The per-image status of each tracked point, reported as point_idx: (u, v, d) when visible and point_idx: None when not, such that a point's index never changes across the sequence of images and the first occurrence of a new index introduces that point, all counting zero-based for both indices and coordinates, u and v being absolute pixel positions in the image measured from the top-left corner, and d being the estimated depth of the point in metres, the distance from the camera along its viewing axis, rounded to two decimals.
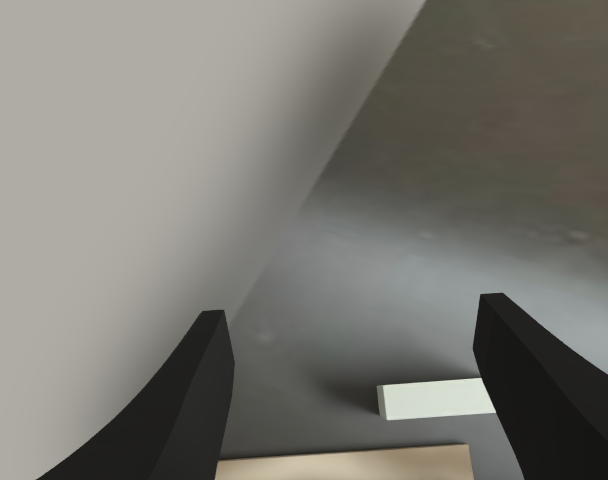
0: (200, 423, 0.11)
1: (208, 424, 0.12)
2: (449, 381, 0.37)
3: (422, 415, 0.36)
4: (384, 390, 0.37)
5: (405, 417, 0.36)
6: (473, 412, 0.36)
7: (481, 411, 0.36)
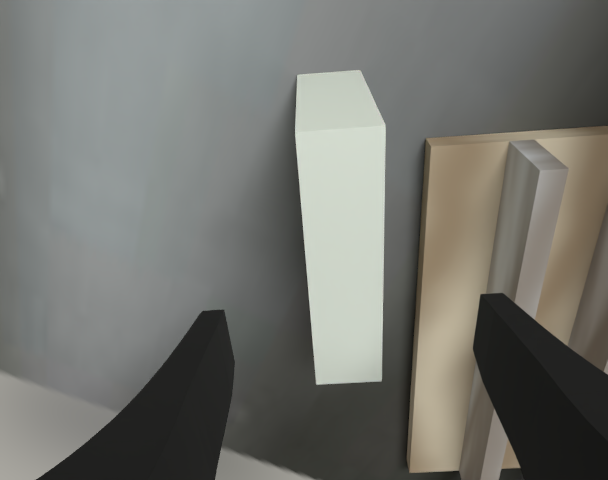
0: (200, 423, 0.11)
1: (208, 424, 0.12)
2: (309, 277, 0.16)
3: (378, 328, 0.17)
4: (326, 382, 0.19)
5: (379, 354, 0.18)
6: (380, 237, 0.15)
7: (379, 221, 0.15)
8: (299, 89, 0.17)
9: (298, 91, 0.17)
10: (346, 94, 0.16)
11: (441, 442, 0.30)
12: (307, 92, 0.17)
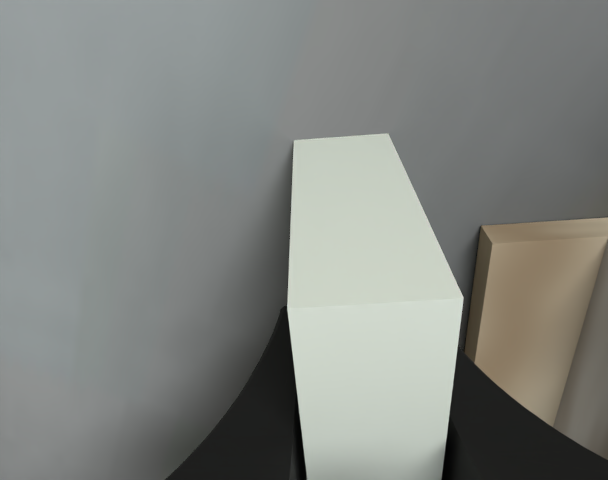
0: None
1: None
2: None
3: None
4: None
5: None
6: (438, 457, 0.09)
7: (439, 436, 0.08)
8: (297, 176, 0.11)
9: (295, 181, 0.11)
10: (374, 195, 0.10)
11: None
12: (309, 183, 0.11)
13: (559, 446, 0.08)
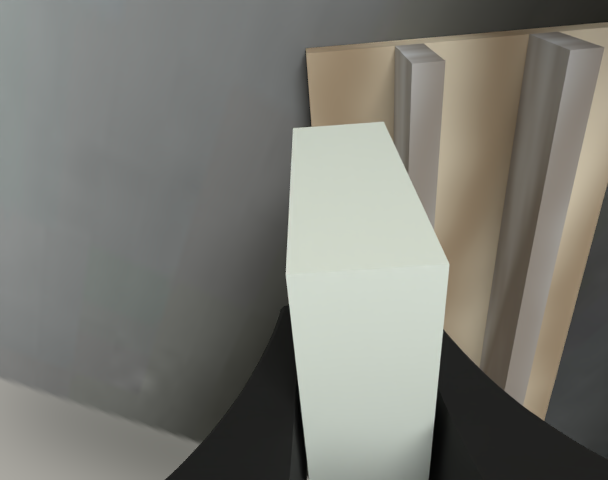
0: (300, 418, 0.11)
1: None
2: (311, 469, 0.10)
3: None
4: None
5: None
6: (428, 421, 0.09)
7: (429, 400, 0.09)
8: (296, 160, 0.11)
9: (294, 165, 0.11)
10: (368, 176, 0.10)
11: None
12: (307, 167, 0.11)
13: (559, 446, 0.08)
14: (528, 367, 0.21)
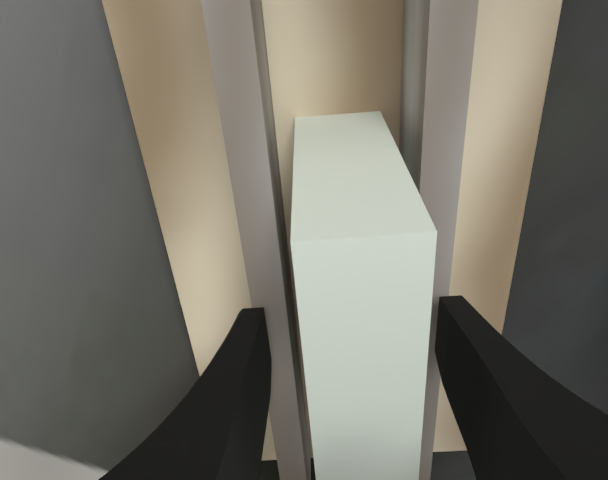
0: (249, 420, 0.11)
1: (254, 422, 0.12)
2: (314, 429, 0.11)
3: None
4: None
5: None
6: (420, 381, 0.10)
7: (420, 361, 0.10)
8: (298, 145, 0.12)
9: (296, 150, 0.12)
10: (365, 158, 0.11)
11: None
12: (308, 151, 0.12)
13: None
14: (437, 366, 0.15)
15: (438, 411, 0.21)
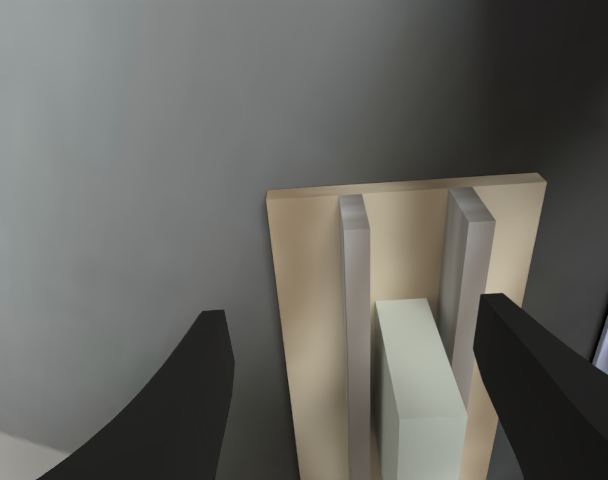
0: (200, 423, 0.11)
1: (208, 424, 0.12)
2: None
3: None
4: None
5: None
6: (456, 475, 0.20)
7: (456, 466, 0.19)
8: (384, 334, 0.22)
9: (384, 338, 0.22)
10: (425, 350, 0.21)
11: (327, 467, 0.31)
12: (392, 340, 0.22)
13: None
14: None
15: None
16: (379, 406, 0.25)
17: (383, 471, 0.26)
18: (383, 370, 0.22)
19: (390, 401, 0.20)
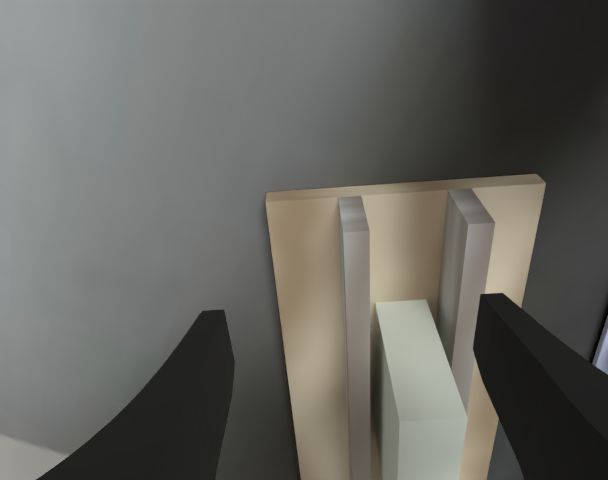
0: (200, 423, 0.11)
1: (208, 424, 0.12)
2: None
3: None
4: None
5: None
6: (456, 476, 0.20)
7: (457, 468, 0.19)
8: (384, 335, 0.22)
9: (384, 339, 0.22)
10: (425, 352, 0.21)
11: (328, 468, 0.31)
12: (392, 342, 0.22)
13: None
14: None
15: None
16: (379, 407, 0.25)
17: (383, 472, 0.26)
18: (383, 372, 0.22)
19: (390, 403, 0.21)
